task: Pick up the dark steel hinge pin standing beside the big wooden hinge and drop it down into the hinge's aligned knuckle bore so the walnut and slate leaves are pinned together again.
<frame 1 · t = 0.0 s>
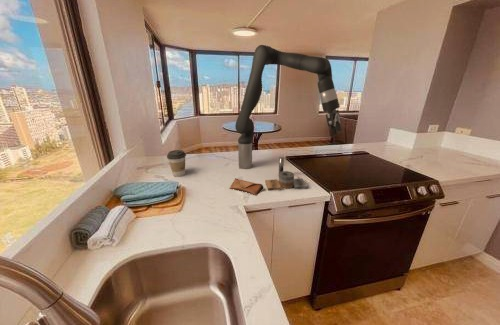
hand: (337, 132, 104), 31 cm above the worktop, tool tilted 20°, fingers open, 8 cm apart
coffee cup: (179, 174, 134), on the worktop
sunglasses case: (245, 189, 117), on the worktop
hinge leaves: (285, 185, 120), on the worktop
hinge pin: (280, 175, 132), on the worktop
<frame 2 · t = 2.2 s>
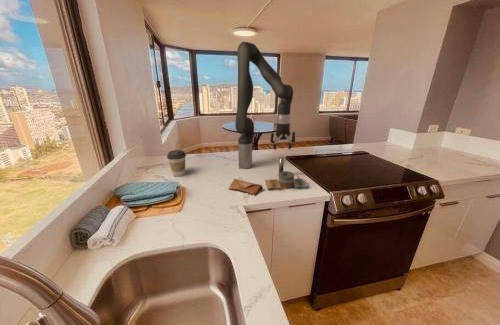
hand: (282, 149, 126), 17 cm above the worktop, tool pointing down, fingers open, 8 cm apart
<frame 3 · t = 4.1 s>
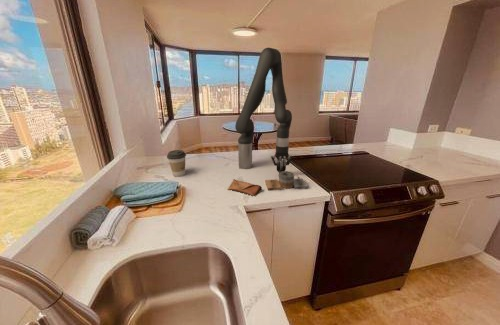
hand: (280, 171, 131), 3 cm above the worktop, tool pointing down, fingers closed on hinge pin, 2 cm apart
hinge pin: (280, 175, 132), on the worktop, touching gripper
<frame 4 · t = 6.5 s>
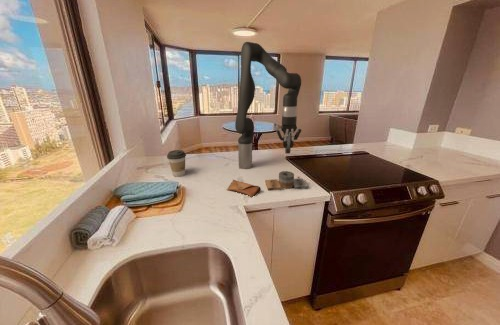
hand: (287, 147, 114), 22 cm above the worktop, tool pointing down, fingers closed on hinge pin, 2 cm apart
hinge pin: (287, 152, 115), point 19 cm above the worktop, touching gripper
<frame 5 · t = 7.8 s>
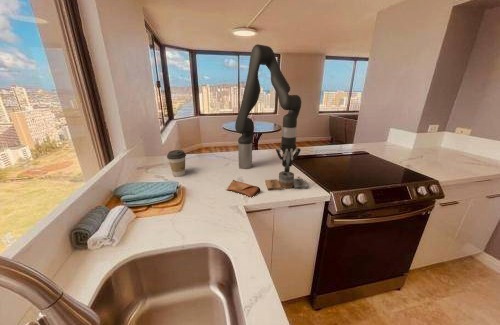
hand: (287, 165, 116), 12 cm above the worktop, tool pointing down, fingers closed on hinge pin, 2 cm apart
hinge pin: (286, 171, 117), point 9 cm above the worktop, touching gripper
when the fingers open (9 cm above the worktop, at t = 8.7 s): hinge pin drops 5 cm, resting in hinge leaves.
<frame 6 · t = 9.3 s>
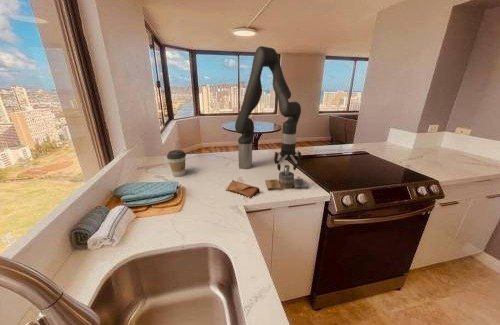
hand: (286, 169, 116), 10 cm above the worktop, tool pointing down, fingers open, 8 cm apart
hinge pin: (285, 185, 120), resting in hinge leaves
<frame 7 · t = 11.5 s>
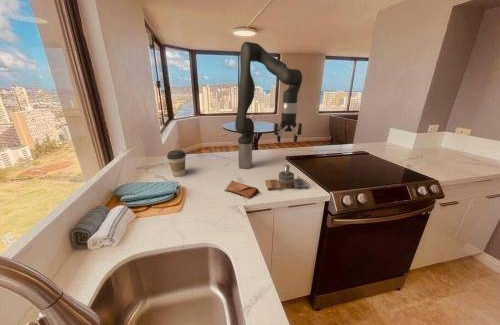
hand: (286, 142, 114), 25 cm above the worktop, tool pointing down, fingers open, 8 cm apart
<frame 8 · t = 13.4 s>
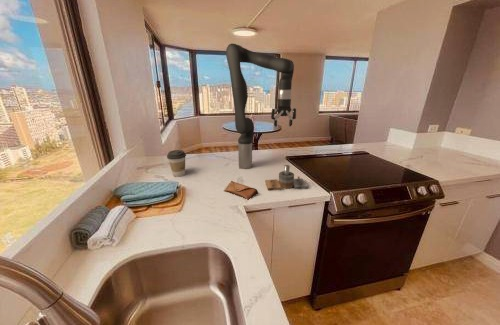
hand: (282, 126, 126), 30 cm above the worktop, tool pointing down, fingers open, 8 cm apart
at the end: hinge pin 0.0 cm off-centre on the hinge leaves, point 0.0 cm above the hinge leaves's base; hinge pin tilted 0°; the gripper is holding nothing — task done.
